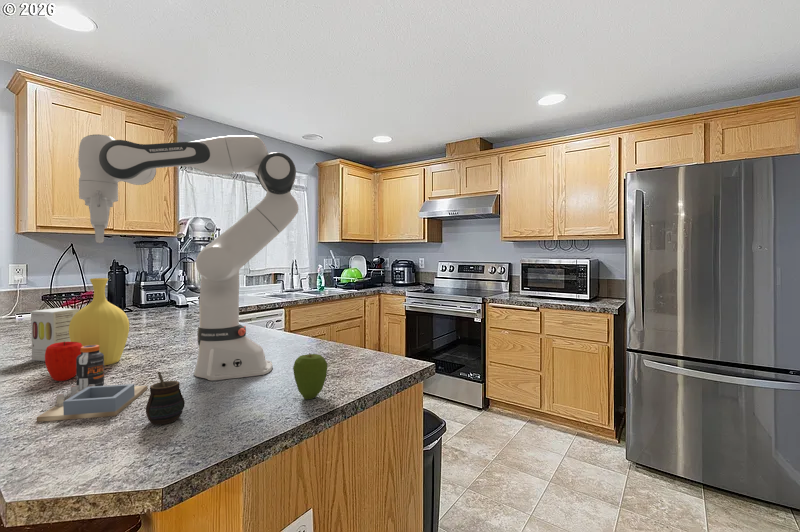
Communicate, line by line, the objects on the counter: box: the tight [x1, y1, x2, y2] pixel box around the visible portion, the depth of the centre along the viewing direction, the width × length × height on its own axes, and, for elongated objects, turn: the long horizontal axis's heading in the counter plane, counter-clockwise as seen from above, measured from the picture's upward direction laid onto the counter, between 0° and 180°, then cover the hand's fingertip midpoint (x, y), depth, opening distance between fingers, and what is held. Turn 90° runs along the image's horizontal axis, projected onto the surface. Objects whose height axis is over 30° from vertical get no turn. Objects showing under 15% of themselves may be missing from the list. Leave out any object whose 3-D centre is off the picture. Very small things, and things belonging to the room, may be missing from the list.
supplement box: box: [30, 307, 80, 362], centre depth 139 cm, size 10×9×17 cm
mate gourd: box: [145, 371, 186, 426], centre depth 87 cm, size 7×8×10 cm
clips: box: [55, 384, 95, 407], centre depth 96 cm, size 5×8×2 cm, turn 13°
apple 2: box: [292, 352, 329, 400], centre depth 101 cm, size 9×8×12 cm
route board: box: [36, 385, 148, 423], centre depth 96 cm, size 15×18×1 cm
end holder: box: [63, 383, 135, 415], centre depth 93 cm, size 10×10×3 cm
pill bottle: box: [75, 345, 105, 391], centre depth 108 cm, size 6×6×11 cm
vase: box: [69, 277, 130, 366], centre depth 133 cm, size 16×16×28 cm
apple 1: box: [44, 342, 83, 382], centre depth 115 cm, size 9×9×11 cm
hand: (99, 243), depth 113 cm, fingers open, 8 cm apart
